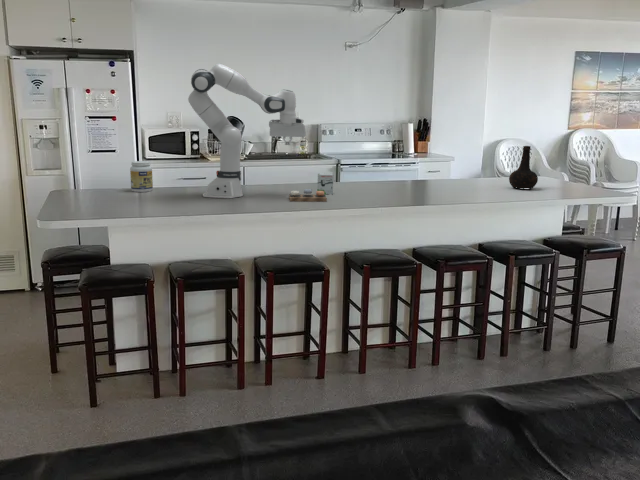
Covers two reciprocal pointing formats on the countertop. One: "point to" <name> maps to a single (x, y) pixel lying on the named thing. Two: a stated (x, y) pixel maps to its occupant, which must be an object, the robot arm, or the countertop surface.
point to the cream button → (294, 192)
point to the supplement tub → (141, 176)
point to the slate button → (307, 191)
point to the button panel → (307, 198)
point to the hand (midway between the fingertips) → (287, 144)
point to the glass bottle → (524, 172)
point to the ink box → (325, 183)
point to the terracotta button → (320, 193)
